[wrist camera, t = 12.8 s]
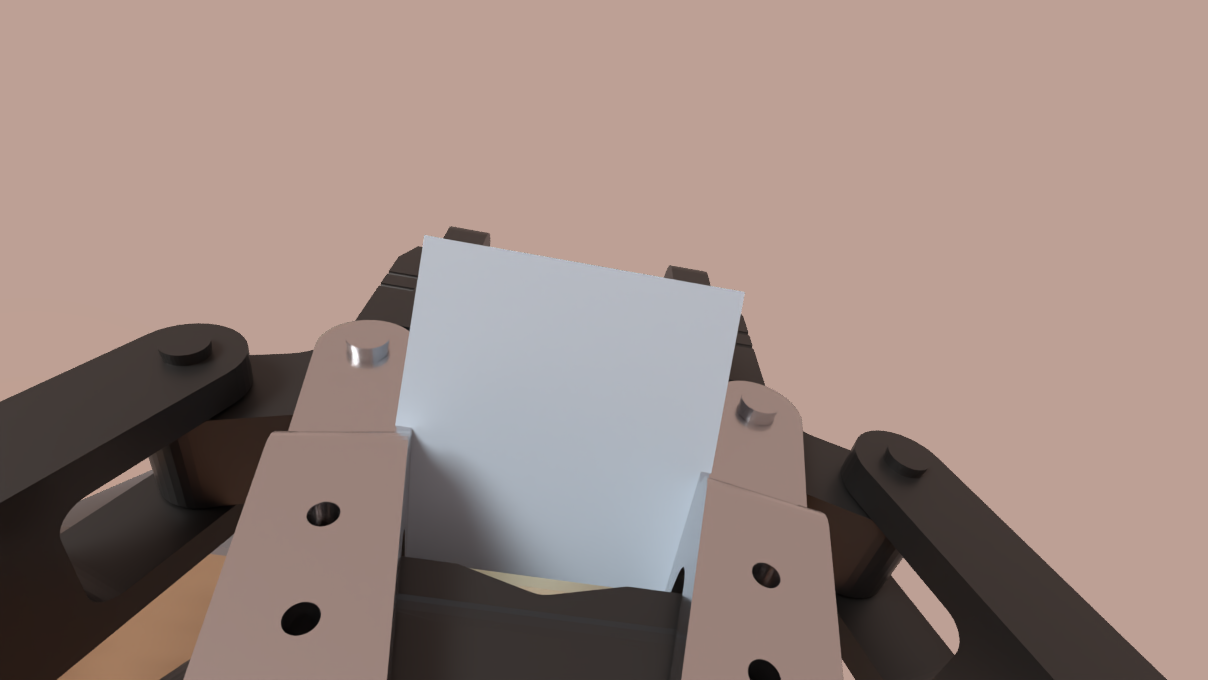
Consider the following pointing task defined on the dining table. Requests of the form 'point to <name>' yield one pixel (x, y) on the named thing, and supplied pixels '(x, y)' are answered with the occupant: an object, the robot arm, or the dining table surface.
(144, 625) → the wooden block
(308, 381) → the robot arm
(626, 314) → the lever
